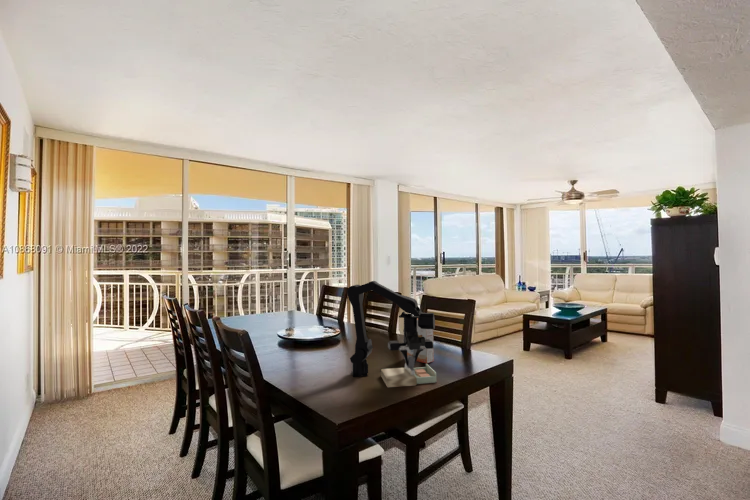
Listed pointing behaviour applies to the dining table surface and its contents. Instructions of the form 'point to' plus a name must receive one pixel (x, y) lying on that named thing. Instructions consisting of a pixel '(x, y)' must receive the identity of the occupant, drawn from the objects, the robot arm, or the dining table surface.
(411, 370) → the scraper
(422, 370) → the tile
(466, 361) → the dining table surface
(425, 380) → the tray
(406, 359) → the robot arm
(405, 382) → the board
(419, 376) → the tile
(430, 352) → the cracker box
